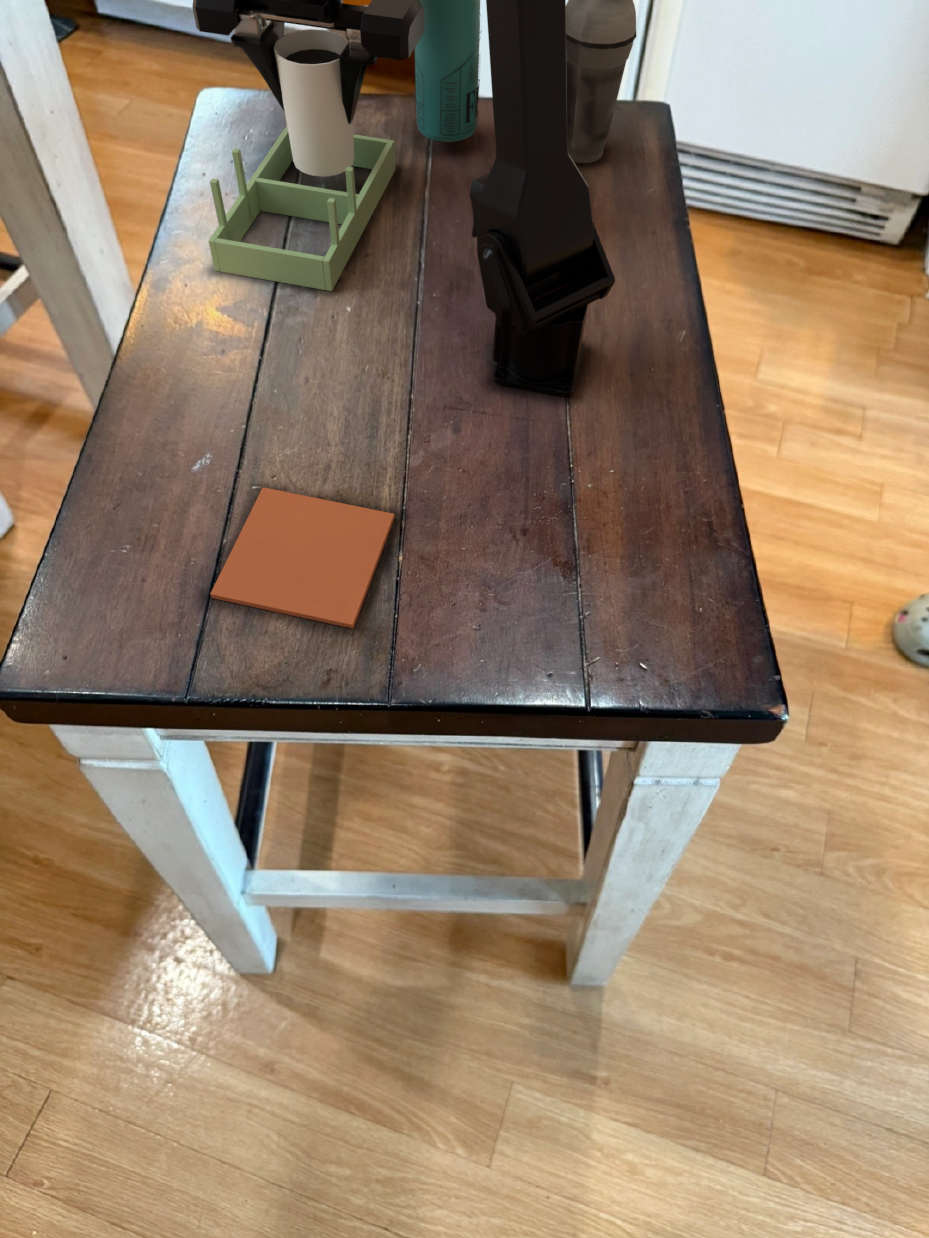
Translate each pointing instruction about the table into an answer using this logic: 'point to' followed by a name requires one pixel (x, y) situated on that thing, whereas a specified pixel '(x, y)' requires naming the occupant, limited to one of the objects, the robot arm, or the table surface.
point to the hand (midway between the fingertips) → (319, 117)
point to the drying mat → (305, 557)
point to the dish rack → (298, 215)
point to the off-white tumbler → (315, 101)
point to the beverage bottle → (448, 70)
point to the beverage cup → (595, 70)
